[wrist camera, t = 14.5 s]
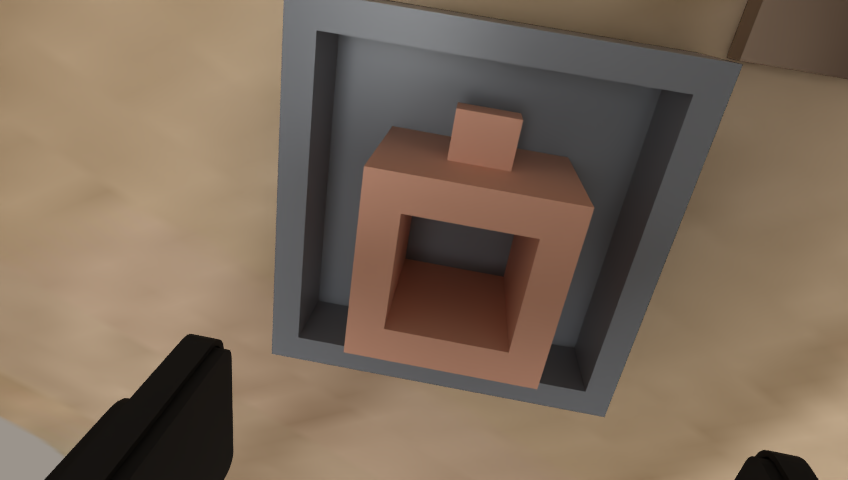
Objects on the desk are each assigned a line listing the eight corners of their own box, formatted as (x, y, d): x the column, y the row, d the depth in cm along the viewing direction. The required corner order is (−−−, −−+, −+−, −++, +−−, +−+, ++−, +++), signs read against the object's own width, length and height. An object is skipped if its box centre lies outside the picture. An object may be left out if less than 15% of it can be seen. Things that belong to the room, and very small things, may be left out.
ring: (580, 112, 18) (612, 151, 14) (526, 307, 22) (537, 389, 17) (398, 81, 18) (370, 108, 14) (372, 278, 22) (343, 352, 17)
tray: (697, 52, 18) (742, 64, 15) (588, 360, 23) (604, 416, 20) (319, -12, 18) (284, -14, 15) (300, 306, 24) (271, 353, 21)
